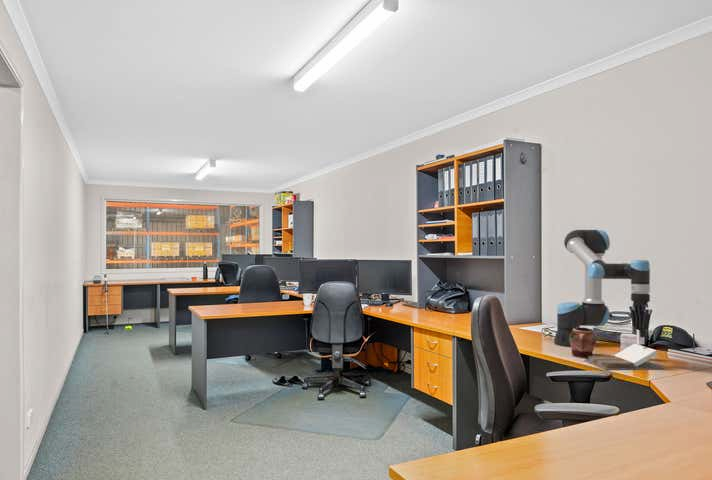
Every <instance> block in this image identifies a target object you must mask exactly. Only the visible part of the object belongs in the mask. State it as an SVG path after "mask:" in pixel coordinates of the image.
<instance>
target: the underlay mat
mask: <svg viewBox="0 0 712 480" xmlns="http://www.w3.org/2000/svg"><path fill="white" fill-rule="evenodd" d="M583 361H584V362H586V363H587V362H588V364H590V365H591V366H592V365H593V366H595V367H597V368H599V369H601V370H604V371H622V370H623V371H627V370H628V371H629V370H631V371H632V370H633V371H636V370H641V371H642V370H643V371H644V370H645V369H646V370H665V369H664V368H665V367H663V366H659V365H657V364H653V363H650V362H648V361H646V362H644V363H642V364H640V365H639V366H637V367H635V366H633V368H606V367H603V366H601V365H598V364H596V363H594V362H591V361H589V360H588V359H583Z"/></svg>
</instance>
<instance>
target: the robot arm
mask: <svg viewBox="0 0 712 480" xmlns="http://www.w3.org/2000/svg"><path fill="white" fill-rule="evenodd" d="M610 242H611V240H610V237H609V235H608V233H607V232H606V231H605V230H602V229H574V230H571V231H570V232H568V233H567V235H566V236H565V237H564V240H563V244H564V247H565V249H566V250H567V251H568V252H569V253H571V254H573V255H574V256H575V257H577V259H579V260H580V262H582V263H583V264H584V299H582V301H581V303H580V302H578V301H577V302H575V301H573V302H572V301H571V302H570V301H568V302H562V303H559V304H558V305H557V311H556V314H557V315H556V316H557V317H556V318H557V320H556V322H557V326H556V328H557V330H556V333H555V335H554V338H553V344H555V345H558V346H562V347H570V348H571V344H570V341H569V337H570V334H571V332H572V329H573V328H581V327H593V326H594V327H603V326H605V325H606V324H607V323H608V321H609V320H610V319H609V318H610V310H609V307H608V305H606V303H605V302H604V300H603V299H602V297H603V295H602V294H603V292H602V291H603V289H602V288H603V285H602V283H603V280H630V284H631V285H630V289H631V291H630V292H631V293H630V301H632V305H631V306H629V307H628V308H629V311H630V316H631V323H632V327H633V328H635V330H636V331H635V332H636V333H635V335H637V344H641V345H645V337H646V334H645V333H646V330H648V329H649V328H650V327H649V326H650V322H651V321H650V320H651V316H652V312H653V309H650V308H649V302H651V301H650V300H651V297H650V296H651V294H650V293H651V287H650V286H651V285H650V282H651V281H650V280H651V277H650V276H651V275H650V274H651V273H650V272H651V268H650V261H649V260H647V259H631V262H630V263H626V262H625V263H624V262H623V263H606V262H605V261H604V260H603V256H604V255H605V254H606V251H608V250H609V248H610V246H611V245H610Z"/></svg>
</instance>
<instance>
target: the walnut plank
mask: <svg viewBox="0 0 712 480" xmlns="http://www.w3.org/2000/svg"><path fill="white" fill-rule="evenodd" d="M587 360H589V361H591V362H594V363H596V364H598V365H601V366H603V367H606V368H633V363H631V362H628V361H626V360H623V359H620V358H617V357H615V356H614V355H593V356H588V358H587Z"/></svg>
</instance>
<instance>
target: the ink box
mask: <svg viewBox="0 0 712 480" xmlns="http://www.w3.org/2000/svg"><path fill="white" fill-rule="evenodd" d="M633 344H637V335H636V334H632V333H621V334H620V352H621V351H622V350H624V349H626V348H628V347H629V346H631V345H633ZM637 345H641V346H642V344H637Z"/></svg>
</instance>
